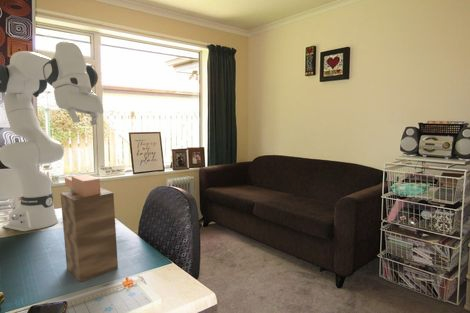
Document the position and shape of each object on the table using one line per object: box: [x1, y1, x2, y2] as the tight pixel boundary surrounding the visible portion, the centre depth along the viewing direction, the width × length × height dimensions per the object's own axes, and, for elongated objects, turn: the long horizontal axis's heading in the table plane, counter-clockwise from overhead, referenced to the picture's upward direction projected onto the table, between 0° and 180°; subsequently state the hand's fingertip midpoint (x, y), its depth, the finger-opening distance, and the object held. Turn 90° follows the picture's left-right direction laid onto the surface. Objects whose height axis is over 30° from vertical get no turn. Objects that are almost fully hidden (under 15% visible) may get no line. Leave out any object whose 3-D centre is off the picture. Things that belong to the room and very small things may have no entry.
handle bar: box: [64, 174, 101, 197], centre depth 103 cm, size 20×5×5 cm, turn 46°
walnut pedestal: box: [60, 187, 119, 283], centre depth 102 cm, size 12×12×26 cm
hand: (85, 124), depth 109 cm, fingers open, 8 cm apart
